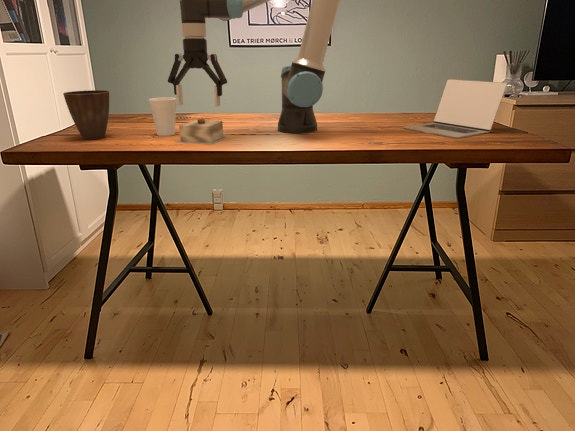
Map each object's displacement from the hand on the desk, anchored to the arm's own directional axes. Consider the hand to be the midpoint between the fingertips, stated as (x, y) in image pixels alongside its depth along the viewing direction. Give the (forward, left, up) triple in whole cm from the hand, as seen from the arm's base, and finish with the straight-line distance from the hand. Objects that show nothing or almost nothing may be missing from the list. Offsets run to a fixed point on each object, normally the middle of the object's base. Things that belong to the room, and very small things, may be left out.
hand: (198, 105), depth 154 cm
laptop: (-84, -36, -12) cm, 92 cm away
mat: (0, 0, -12) cm, 12 cm away
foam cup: (+17, -6, -12) cm, 21 cm away
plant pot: (+41, +3, -12) cm, 42 cm away
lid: (0, 0, -11) cm, 11 cm away
